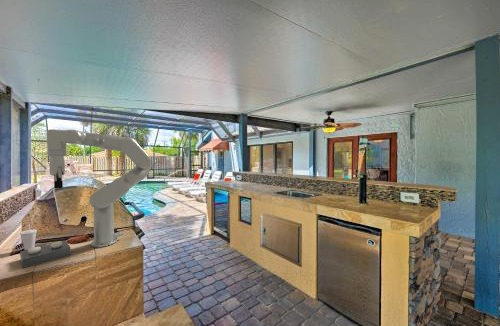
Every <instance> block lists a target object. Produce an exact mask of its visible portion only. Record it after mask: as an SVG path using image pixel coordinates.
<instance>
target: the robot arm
mask: <svg viewBox="0 0 500 326" xmlns="http://www.w3.org/2000/svg"><path fill="white" fill-rule="evenodd" d="M67 144H69V145H70V144H71V145H80V146H88V147H95V148H99V149H101V150H109V151H115V152H123V153H124V154H125V155H126V156H127V157H128V158H129V159H130V160H131V161H132V163H133V164H134V165H135V166H134V167H133V168H132V169H131V170H129V171H127V172H126V173H124V174H123V175H121V176H118V177H117V178H114V179H113V181H111V182H110V183H107V184H106V185H104V186H103V187H100V188H98V189H96V190H95V191H94V192H93V193H92V194H91V196H89V203H90V206H91V207H92V208H93V209H92V210H93V212H92V213H93V241H91V242H90V246H91V247H93V248H104V247H108V245H109V246H112V245H114V244H116V243H117V241H118V238H119V237H123V236H124V233H123V231H122V232H115V224H114V223H115V220H114V218H115V217H114V214H115V213H114V203H115V202H117V201H118V200H119V199H121V198H122V197H124V196H125V195H126V194H128V193H129V191H130V190H131V188H133V187H134V186H136V185H137V184H139V183H140V182H141V181H143V180H144V179H145V178H146V177H147V176H148V175H149V173H150V172H151V168H152V158H151V157H150V156H149V154H147V152H146V151H145V150H144V149H143V148H142V147H141V146H140V145H139V143H138V142H137V141H136V140H135V139H134V138H132V137H124V136H119V135H112V134H109V133H108V134H107V133H102V134H101V133H94V132H93V133H92V132H86V131H81V130H76V129H54V128H53V129H47V130H46V149H47V153H46V154H47V157H49V175H51V176H53V183H54V184H53V187H54V189H55V190H57V189H58V190H59V189H63V188H64V184H63V176H65V174H66V173H65V171H66V166H65V165H66V164H65V163H66V162H65V157H67V154H68V153H67Z"/></svg>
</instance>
